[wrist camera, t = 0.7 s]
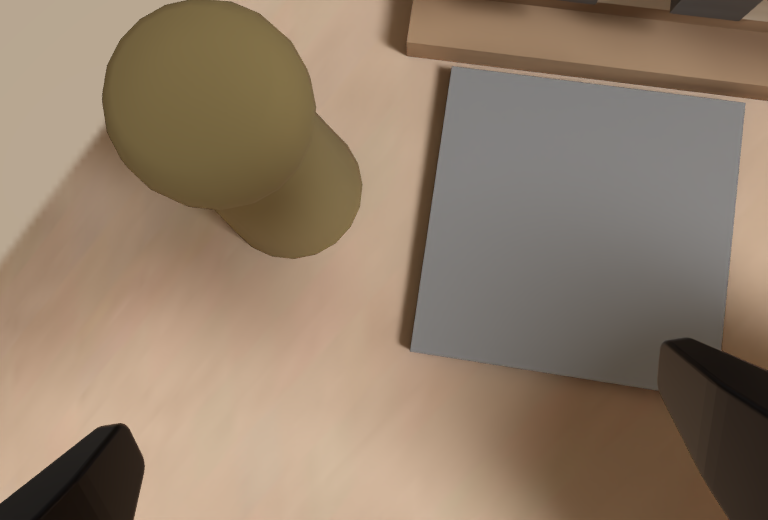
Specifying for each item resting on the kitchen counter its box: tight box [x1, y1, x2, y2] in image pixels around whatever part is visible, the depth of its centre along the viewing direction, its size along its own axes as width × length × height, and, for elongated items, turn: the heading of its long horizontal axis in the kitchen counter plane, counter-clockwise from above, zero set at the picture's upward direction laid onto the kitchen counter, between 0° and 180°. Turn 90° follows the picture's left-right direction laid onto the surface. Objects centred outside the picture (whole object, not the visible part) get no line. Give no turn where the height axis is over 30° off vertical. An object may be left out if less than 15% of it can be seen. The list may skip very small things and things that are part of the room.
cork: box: [102, 0, 362, 259], centre depth 17 cm, size 6×6×11 cm
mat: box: [410, 66, 745, 391], centre depth 22 cm, size 12×12×1 cm
